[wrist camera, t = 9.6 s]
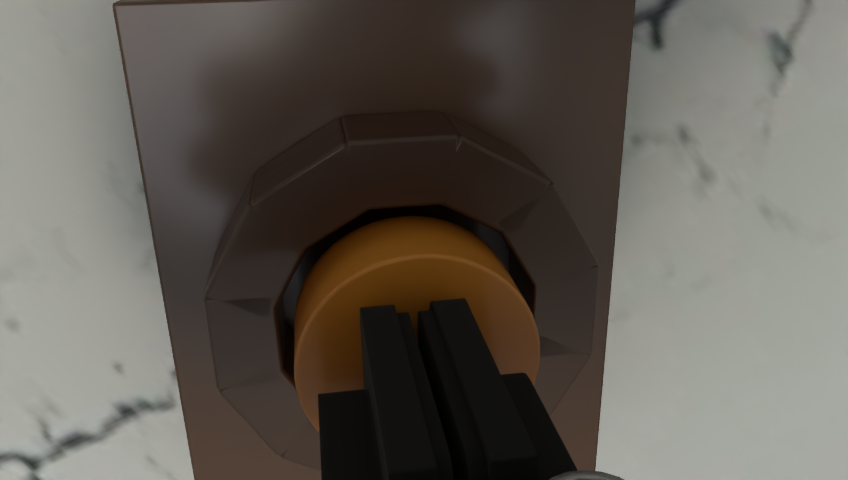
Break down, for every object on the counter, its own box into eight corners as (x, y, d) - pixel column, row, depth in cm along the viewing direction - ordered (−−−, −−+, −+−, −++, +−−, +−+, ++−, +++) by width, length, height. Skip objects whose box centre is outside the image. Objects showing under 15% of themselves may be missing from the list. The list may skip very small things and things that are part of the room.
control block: (137, -9, 14) (80, 14, 11) (594, -23, 15) (685, -8, 12) (212, 461, 18) (191, 593, 15) (565, 422, 20) (626, 535, 16)
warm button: (284, 222, 13) (282, 265, 11) (516, 206, 13) (546, 245, 11) (304, 420, 14) (304, 483, 13) (511, 398, 15) (536, 456, 13)
